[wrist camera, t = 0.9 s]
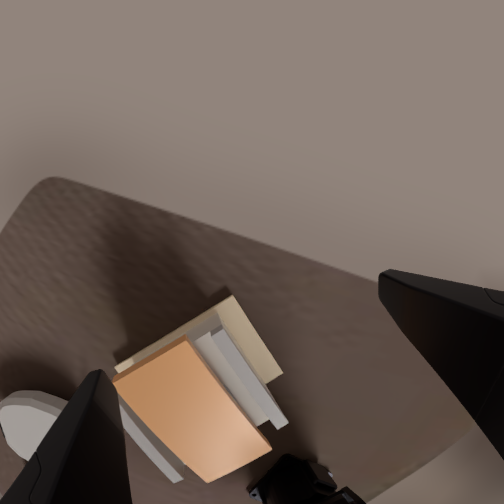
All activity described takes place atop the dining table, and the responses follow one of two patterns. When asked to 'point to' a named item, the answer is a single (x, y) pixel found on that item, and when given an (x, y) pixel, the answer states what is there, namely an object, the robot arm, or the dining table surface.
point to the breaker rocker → (191, 410)
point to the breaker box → (223, 366)
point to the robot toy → (28, 419)
